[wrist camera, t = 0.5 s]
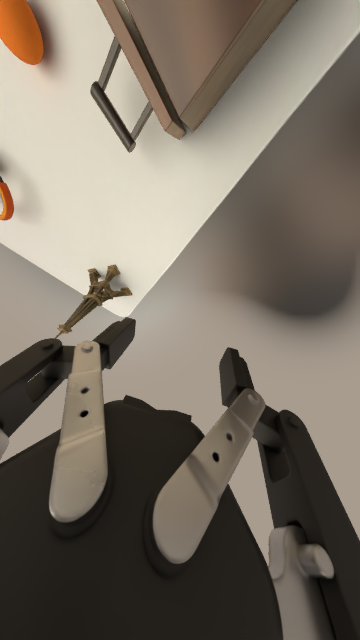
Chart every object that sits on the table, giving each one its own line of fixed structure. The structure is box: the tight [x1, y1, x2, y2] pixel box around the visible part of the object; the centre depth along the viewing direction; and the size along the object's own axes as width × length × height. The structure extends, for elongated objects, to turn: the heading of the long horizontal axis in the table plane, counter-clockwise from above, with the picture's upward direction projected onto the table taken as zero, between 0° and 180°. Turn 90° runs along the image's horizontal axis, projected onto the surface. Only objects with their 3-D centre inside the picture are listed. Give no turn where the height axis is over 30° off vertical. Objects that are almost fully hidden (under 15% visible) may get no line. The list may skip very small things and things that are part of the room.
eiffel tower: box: [55, 265, 132, 339], centre depth 39 cm, size 11×11×25 cm
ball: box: [0, 0, 43, 65], centre depth 18 cm, size 5×5×5 cm
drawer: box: [91, 0, 185, 153], centre depth 15 cm, size 20×12×8 cm, turn 129°
